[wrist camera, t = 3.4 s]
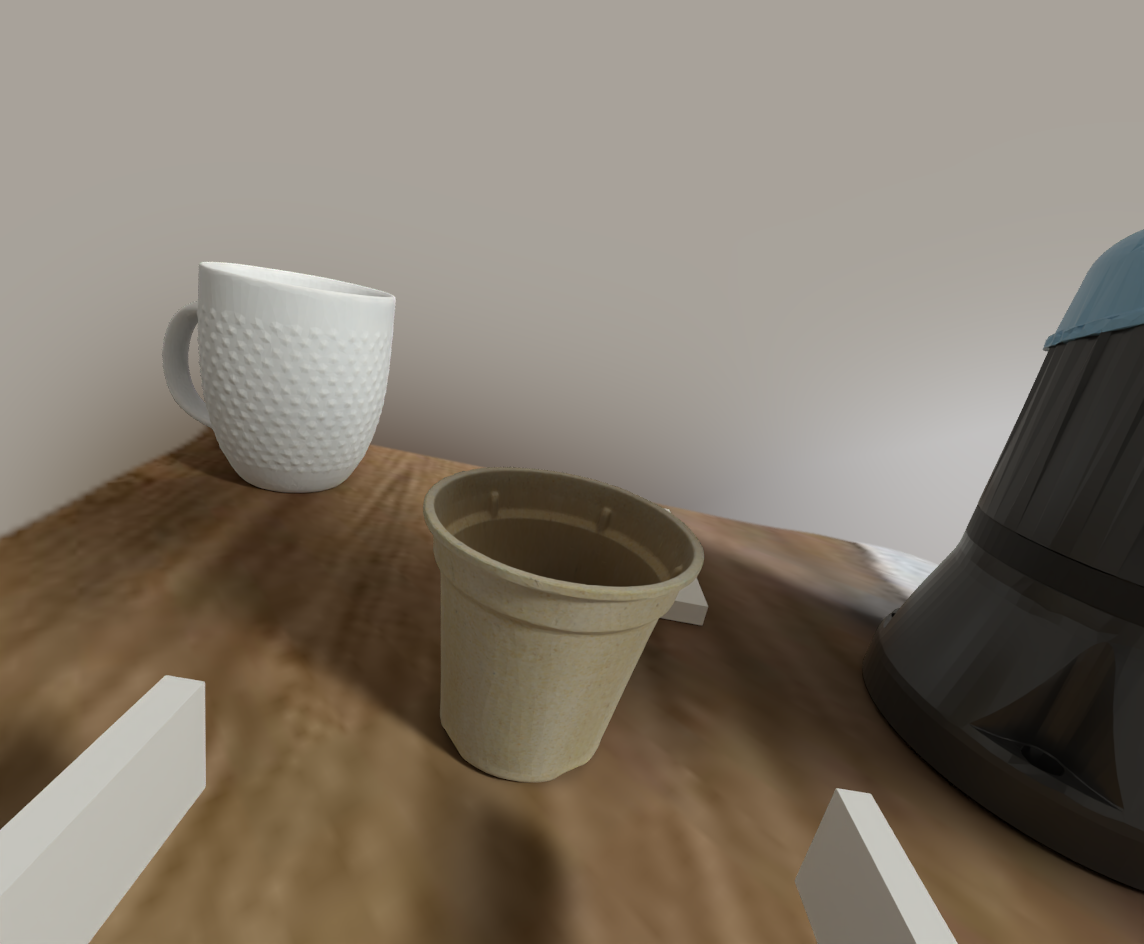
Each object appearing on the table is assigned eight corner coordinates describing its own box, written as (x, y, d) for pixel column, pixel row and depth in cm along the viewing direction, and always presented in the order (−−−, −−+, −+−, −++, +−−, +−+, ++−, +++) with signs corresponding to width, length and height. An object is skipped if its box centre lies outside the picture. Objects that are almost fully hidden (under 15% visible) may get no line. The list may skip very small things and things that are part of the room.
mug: (97, 466, 34) (81, 239, 30) (227, 428, 45) (229, 256, 41) (325, 523, 33) (340, 296, 29) (404, 471, 43) (424, 298, 39)
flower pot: (597, 641, 27) (639, 476, 25) (686, 814, 19) (763, 593, 16) (397, 643, 24) (418, 455, 22) (395, 851, 16) (431, 586, 13)
